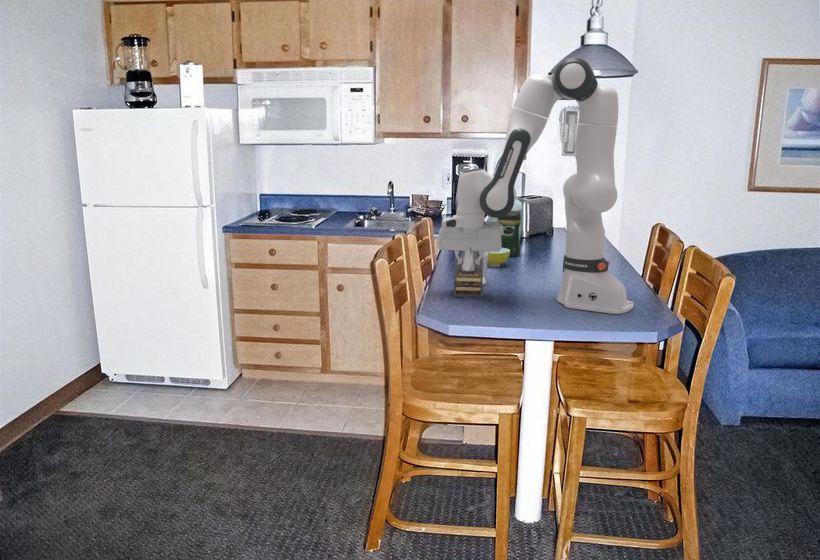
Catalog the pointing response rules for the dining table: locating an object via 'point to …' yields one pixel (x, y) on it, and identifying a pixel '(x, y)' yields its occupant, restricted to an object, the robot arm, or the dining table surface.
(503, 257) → the bowl
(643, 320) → the dining table surface
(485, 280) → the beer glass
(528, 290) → the dining table surface
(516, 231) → the coffee jar
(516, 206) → the lunch box
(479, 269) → the stand
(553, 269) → the dining table surface
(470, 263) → the metal cylinder
